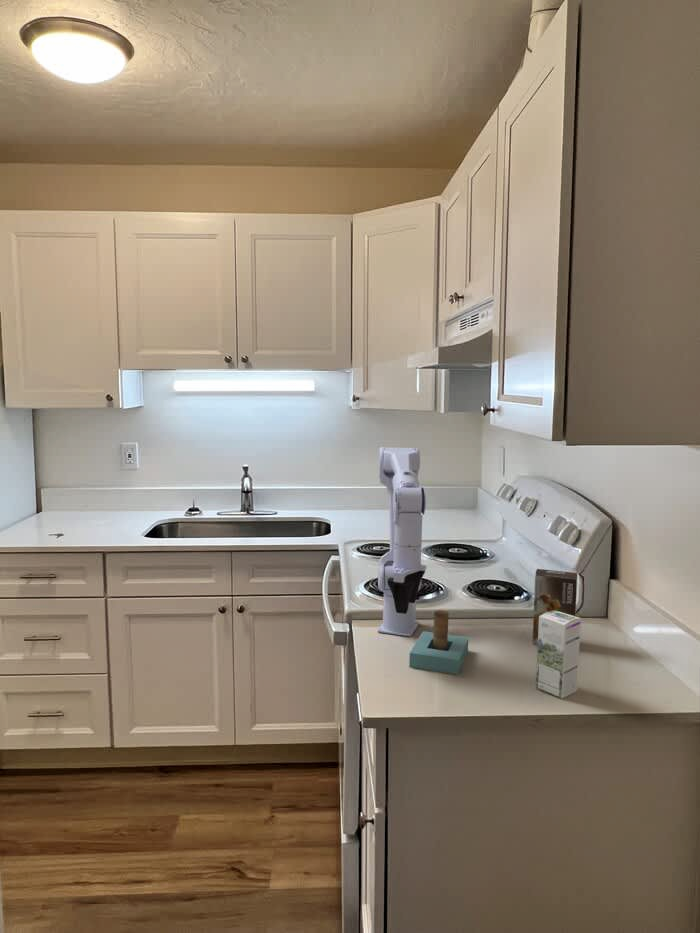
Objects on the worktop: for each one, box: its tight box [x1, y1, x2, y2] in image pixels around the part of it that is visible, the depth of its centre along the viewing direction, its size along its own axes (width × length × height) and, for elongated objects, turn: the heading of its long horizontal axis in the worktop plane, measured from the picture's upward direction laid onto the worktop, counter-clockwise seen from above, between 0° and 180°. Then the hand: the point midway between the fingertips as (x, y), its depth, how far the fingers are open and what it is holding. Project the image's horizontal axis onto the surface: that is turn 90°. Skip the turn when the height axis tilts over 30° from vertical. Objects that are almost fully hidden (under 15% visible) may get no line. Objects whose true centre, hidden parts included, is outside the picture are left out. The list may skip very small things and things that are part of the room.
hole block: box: [408, 630, 470, 676], centre depth 134 cm, size 13×10×3 cm
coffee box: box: [531, 568, 578, 646], centre depth 144 cm, size 9×6×16 cm
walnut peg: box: [432, 609, 450, 651], centre depth 134 cm, size 3×3×10 cm
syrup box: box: [535, 610, 582, 700], centre depth 120 cm, size 6×6×14 cm
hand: (405, 607), depth 135 cm, fingers open, 7 cm apart
